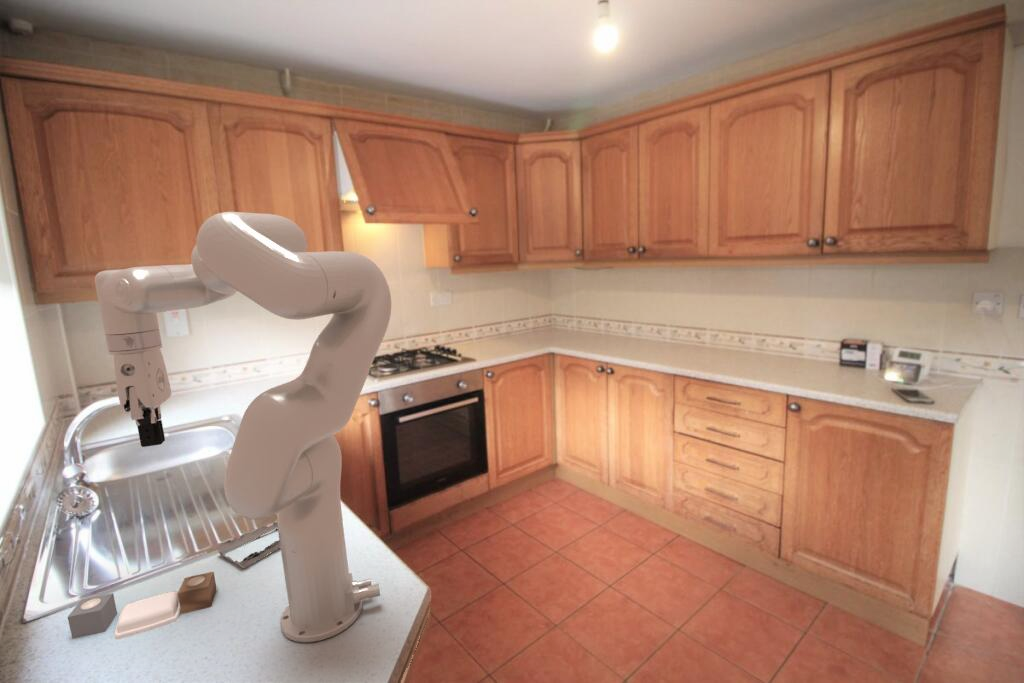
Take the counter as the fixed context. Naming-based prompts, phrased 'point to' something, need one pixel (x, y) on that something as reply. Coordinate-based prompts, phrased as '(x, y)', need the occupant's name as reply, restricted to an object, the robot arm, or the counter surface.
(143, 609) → the soap
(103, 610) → the slate grey block
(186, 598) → the walnut block
